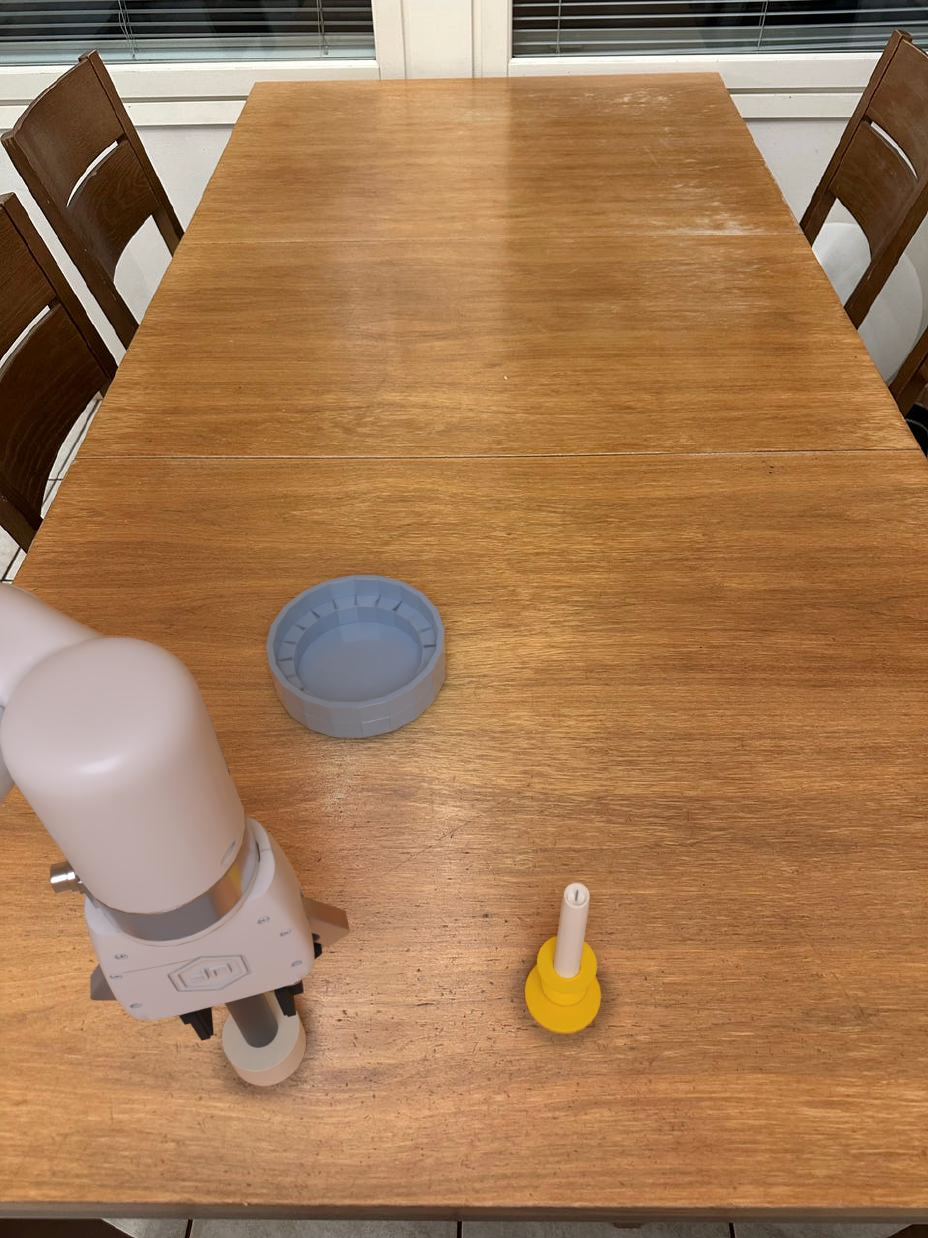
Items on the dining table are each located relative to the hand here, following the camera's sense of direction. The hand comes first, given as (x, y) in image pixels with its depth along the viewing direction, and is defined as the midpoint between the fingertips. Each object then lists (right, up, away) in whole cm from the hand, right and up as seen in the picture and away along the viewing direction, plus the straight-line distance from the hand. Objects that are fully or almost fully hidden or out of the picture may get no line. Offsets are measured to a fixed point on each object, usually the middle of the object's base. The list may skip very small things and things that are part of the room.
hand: (246, 1002), depth 57 cm
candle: (+20, -3, +8) cm, 22 cm away
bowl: (+4, +18, +27) cm, 33 cm away
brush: (0, -5, +6) cm, 8 cm away
